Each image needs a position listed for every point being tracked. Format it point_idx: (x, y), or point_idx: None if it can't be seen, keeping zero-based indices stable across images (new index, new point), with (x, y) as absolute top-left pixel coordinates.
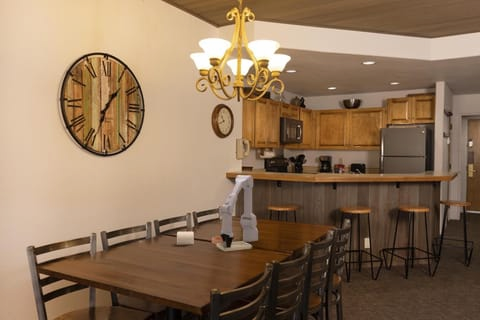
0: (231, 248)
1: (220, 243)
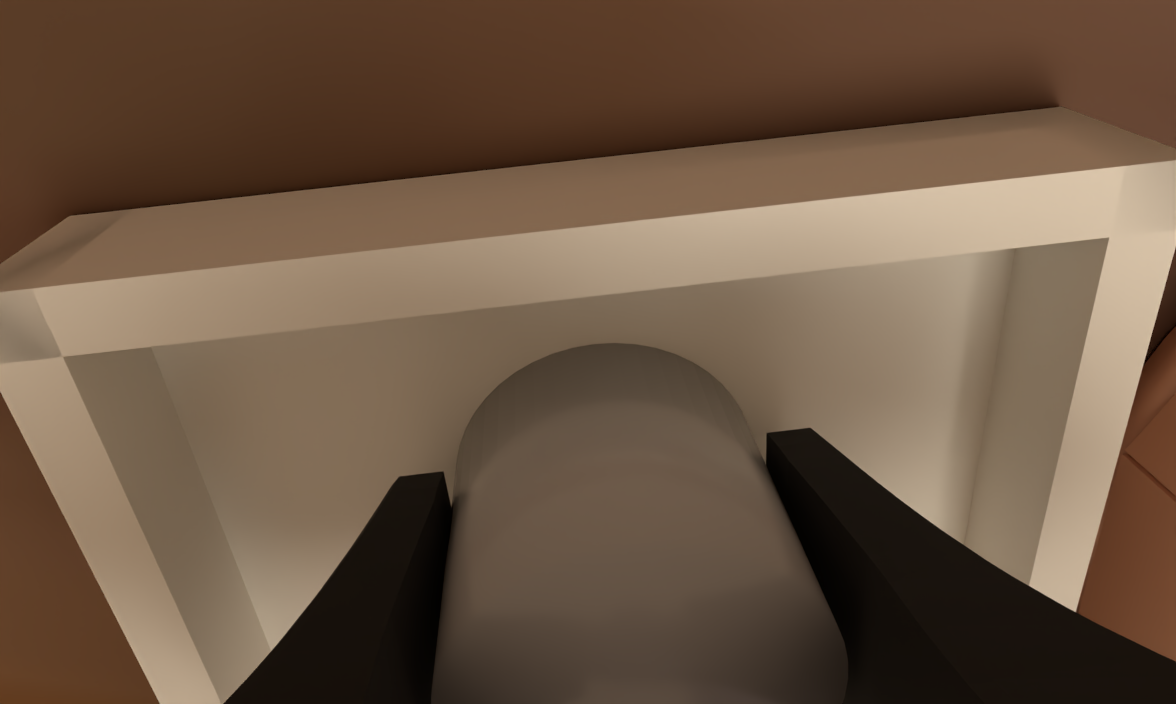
0: (133, 596)
1: (1098, 370)
